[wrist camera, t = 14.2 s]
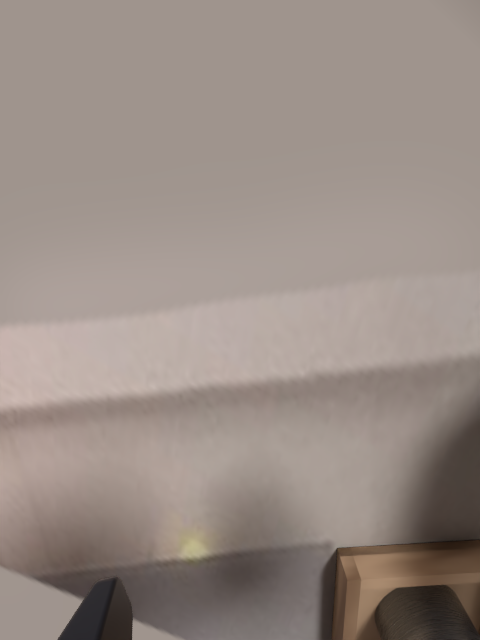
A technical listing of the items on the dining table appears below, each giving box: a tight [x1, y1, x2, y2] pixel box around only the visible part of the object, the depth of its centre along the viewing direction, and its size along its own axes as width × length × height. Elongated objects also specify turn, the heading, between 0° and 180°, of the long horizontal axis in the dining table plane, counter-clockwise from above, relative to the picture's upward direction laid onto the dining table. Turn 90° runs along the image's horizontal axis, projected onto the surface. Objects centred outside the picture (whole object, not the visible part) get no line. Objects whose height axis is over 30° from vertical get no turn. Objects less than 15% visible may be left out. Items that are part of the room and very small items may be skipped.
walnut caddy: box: [331, 540, 480, 640], centre depth 27 cm, size 11×11×2 cm
